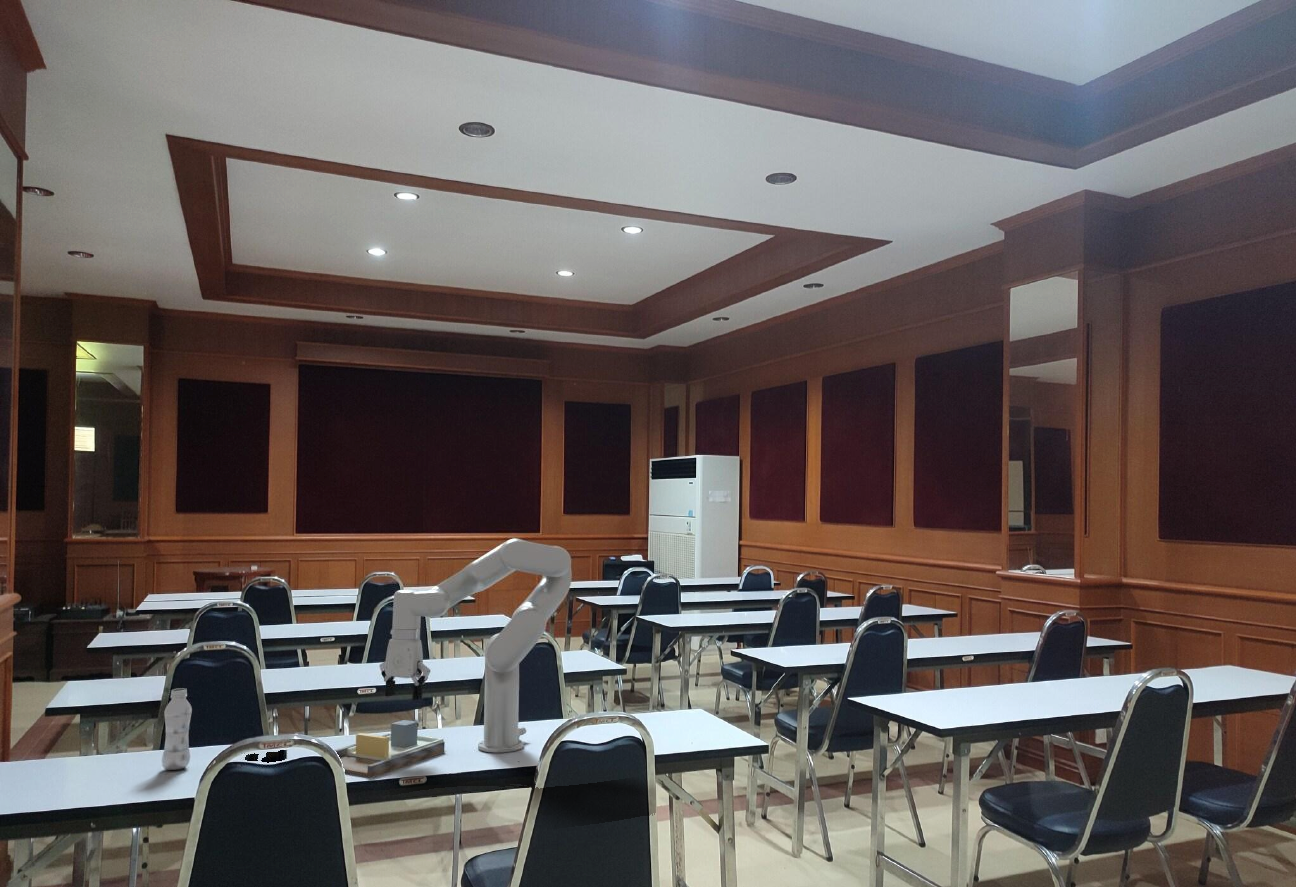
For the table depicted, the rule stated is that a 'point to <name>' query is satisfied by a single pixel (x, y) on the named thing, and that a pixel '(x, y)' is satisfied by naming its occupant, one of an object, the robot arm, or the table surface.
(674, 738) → the table surface
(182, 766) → the plastic bottle
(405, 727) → the slate block
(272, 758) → the end cap
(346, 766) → the guide base
